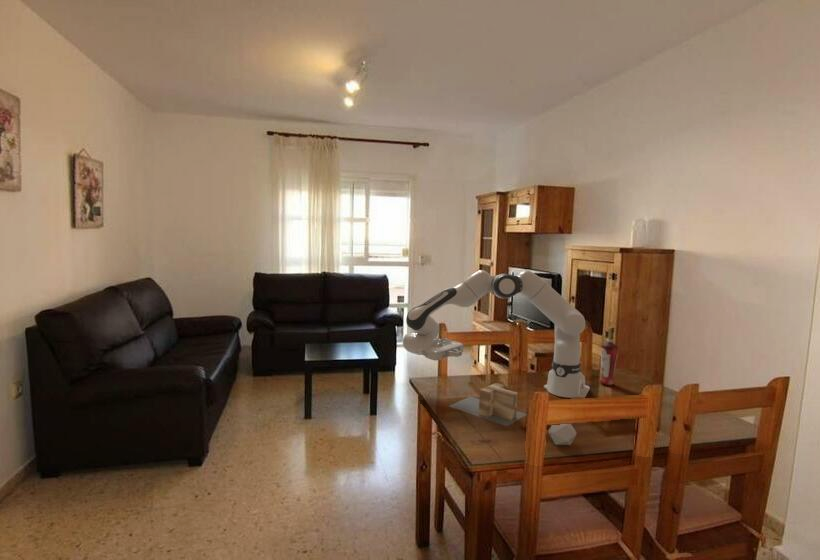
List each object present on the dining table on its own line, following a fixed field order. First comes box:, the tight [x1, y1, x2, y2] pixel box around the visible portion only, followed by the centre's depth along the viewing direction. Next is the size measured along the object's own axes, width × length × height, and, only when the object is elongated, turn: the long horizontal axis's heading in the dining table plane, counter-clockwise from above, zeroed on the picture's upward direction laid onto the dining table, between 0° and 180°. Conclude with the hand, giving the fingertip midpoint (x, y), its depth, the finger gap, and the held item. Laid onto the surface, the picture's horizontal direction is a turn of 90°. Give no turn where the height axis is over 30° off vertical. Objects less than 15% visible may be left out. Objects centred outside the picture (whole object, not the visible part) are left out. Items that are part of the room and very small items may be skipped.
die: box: [547, 423, 577, 446], centre depth 161 cm, size 8×9×10 cm
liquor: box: [598, 326, 619, 386], centre depth 224 cm, size 7×7×28 cm
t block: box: [479, 382, 518, 420], centre depth 183 cm, size 12×12×10 cm
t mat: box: [448, 396, 528, 427], centre depth 187 cm, size 16×27×1 cm, turn 49°
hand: (460, 354), depth 194 cm, fingers closed
